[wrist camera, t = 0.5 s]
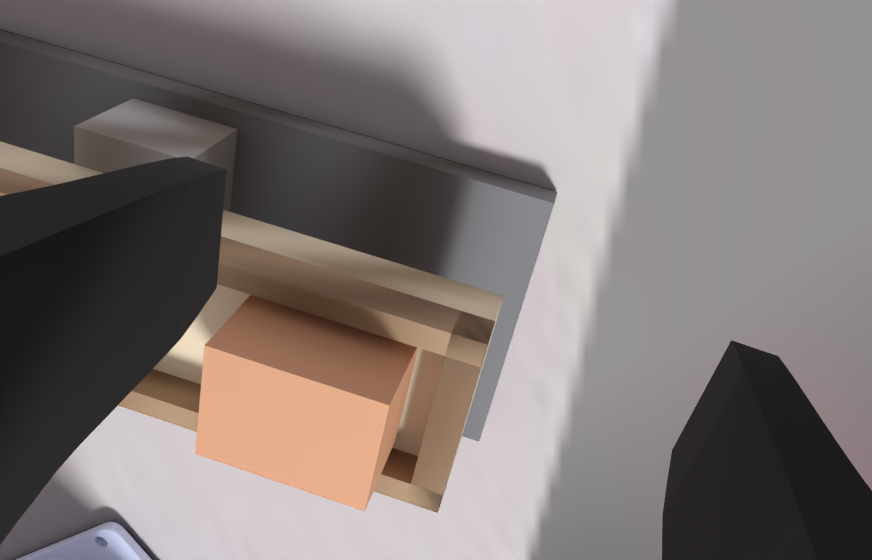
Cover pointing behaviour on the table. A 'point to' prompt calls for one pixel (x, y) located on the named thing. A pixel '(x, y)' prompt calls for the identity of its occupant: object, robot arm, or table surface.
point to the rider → (302, 400)
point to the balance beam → (302, 234)
